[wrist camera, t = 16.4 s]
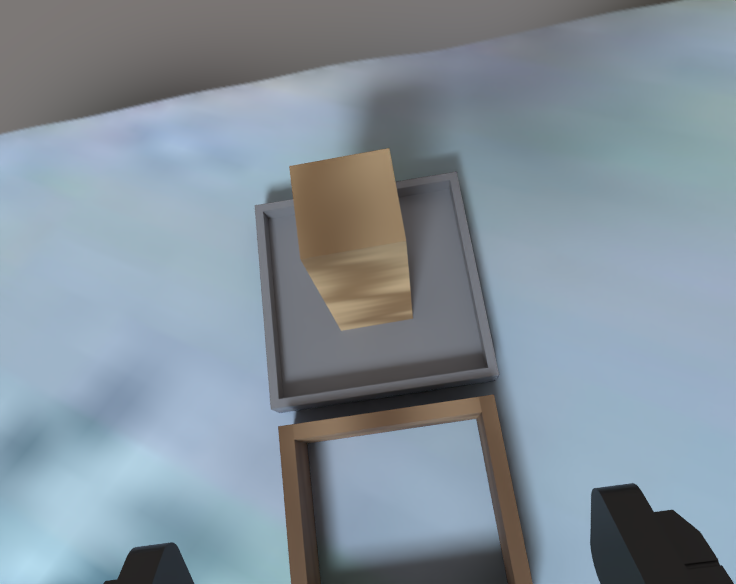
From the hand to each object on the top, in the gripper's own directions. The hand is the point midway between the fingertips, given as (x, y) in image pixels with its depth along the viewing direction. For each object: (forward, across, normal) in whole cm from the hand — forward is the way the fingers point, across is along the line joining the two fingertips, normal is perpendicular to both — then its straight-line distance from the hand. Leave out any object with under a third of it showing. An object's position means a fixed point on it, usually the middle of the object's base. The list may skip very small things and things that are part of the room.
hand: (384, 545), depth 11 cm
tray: (+25, +1, +7) cm, 26 cm away
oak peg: (+24, +1, +6) cm, 25 cm away
